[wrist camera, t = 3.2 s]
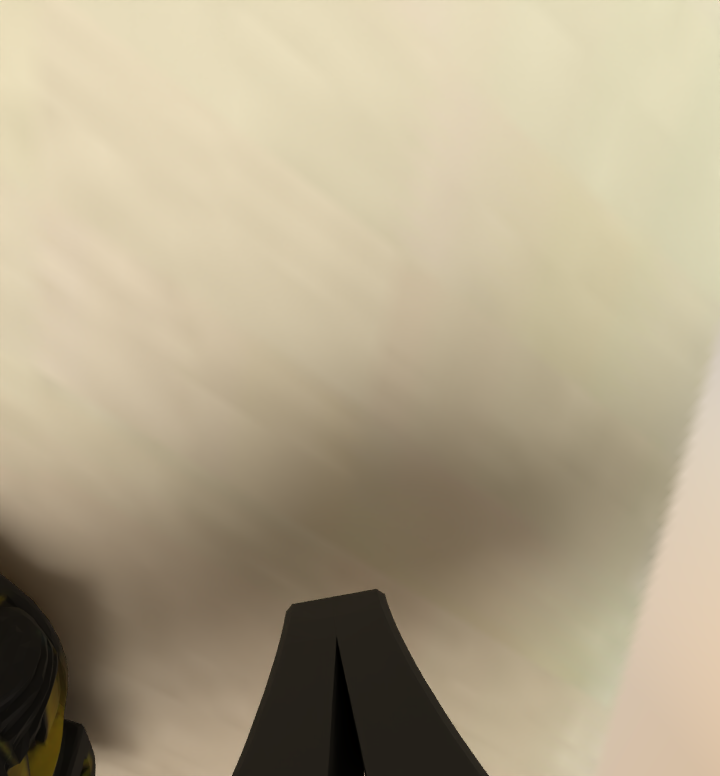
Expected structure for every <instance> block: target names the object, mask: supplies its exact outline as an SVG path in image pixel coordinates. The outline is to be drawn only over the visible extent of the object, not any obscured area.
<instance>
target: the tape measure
mask: <svg viewBox="0 0 720 776" xmlns="http://www.w3.org/2000/svg"><path fill="white" fill-rule="evenodd" d="M67 690H68V668H67V663H66V657H65V654H64V652H63V649H62V646H61V643H60V640H59V638H58V636H57V634H56V632H55V630H54V629H53V627H52V625H51V623H50V621H49V620H48V619H47V617H46V616H45V615H44V614H43V613H42V611H41V610H40V609H39V608H38V606H37V605H36V604H35V603H34V602H33V600H31V599H30V598H29V597H28V596H27V595H26V594H25V593H23V592H22V591H21V590H20V589H19V588H18V587H16V586H15V585H14V584H13V583H12V582H10V581H9V580H8V579H7V578H5V577H4V576H3V575H2V574H1V573H0V776H95V766H96V765H95V756H94V752H93V749H92V746H91V743H90V741H89V738H88V736H87V733H86V731H85V728H84V727H83V725H82V724H79V723H76V722H73V721H69V720H65V719H64V710H65V703H66V697H67Z"/></svg>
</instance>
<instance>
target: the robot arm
mask: <svg viewBox="0 0 720 776" xmlns="http://www.w3.org/2000/svg"><path fill="white" fill-rule="evenodd" d="M364 773H365V776H489V775H488V774H487V773H486V771H485V770H484V769H483V767H482V766H481V764H480V763H479V762H478V760H477V759H476V757H475V756H474V754H473V753H472V752H471V750H470V749H469V747H468V746H467V745H466V743H465V742H464V740H463V739H462V737H461V736H460V734H459V733H458V731H457V730H456V728H455V727H454V725H453V724H452V722H451V721H450V719H449V718H448V716H447V715H446V713H445V712H444V710H443V708H442V707H441V705H440V704H439V702H438V700H437V699H436V697H435V695H434V694H433V692H432V691H431V689H430V687H429V686H428V684H427V683H426V681H425V679H424V678H423V676H422V674H421V672H420V671H419V669H418V667H417V665H416V664H415V662H414V660H413V658H412V656H411V654H410V652H409V650H408V649H407V647H406V645H405V643H404V641H403V639H402V637H401V635H400V633H399V631H398V628H397V626H396V624H395V622H394V619H393V617H392V614H391V612H390V609H389V606H388V604H387V600H386V597H385V594H384V593H382V592H380V591H379V590H377V589H374V590H368V591H363V592H357V593H352V594H346V595H341V596H335V597H330V598H324V599H318V600H313V601H307V602H302V603H296V604H292V605H291V607H290V608H289V609H288V610H287V611H286V615H285V620H284V625H283V630H282V634H281V638H280V642H279V645H278V649H277V653H276V656H275V660H274V663H273V666H272V669H271V672H270V676H269V679H268V682H267V685H266V688H265V691H264V694H263V697H262V699H261V702H260V705H259V708H258V710H257V713H256V716H255V719H254V722H253V724H252V727H251V730H250V733H249V735H248V738H247V741H246V743H245V746H244V748H243V751H242V753H241V756H240V758H239V761H238V763H237V765H236V768H235V770H234V772H233V775H232V776H364Z"/></svg>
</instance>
